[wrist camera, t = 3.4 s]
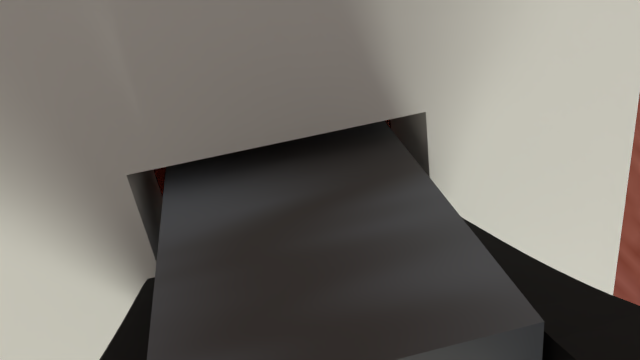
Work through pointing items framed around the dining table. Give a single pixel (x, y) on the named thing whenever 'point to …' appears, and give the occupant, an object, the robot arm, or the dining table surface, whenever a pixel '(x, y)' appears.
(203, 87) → the pocket block
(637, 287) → the dining table surface
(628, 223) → the dining table surface
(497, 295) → the peg
